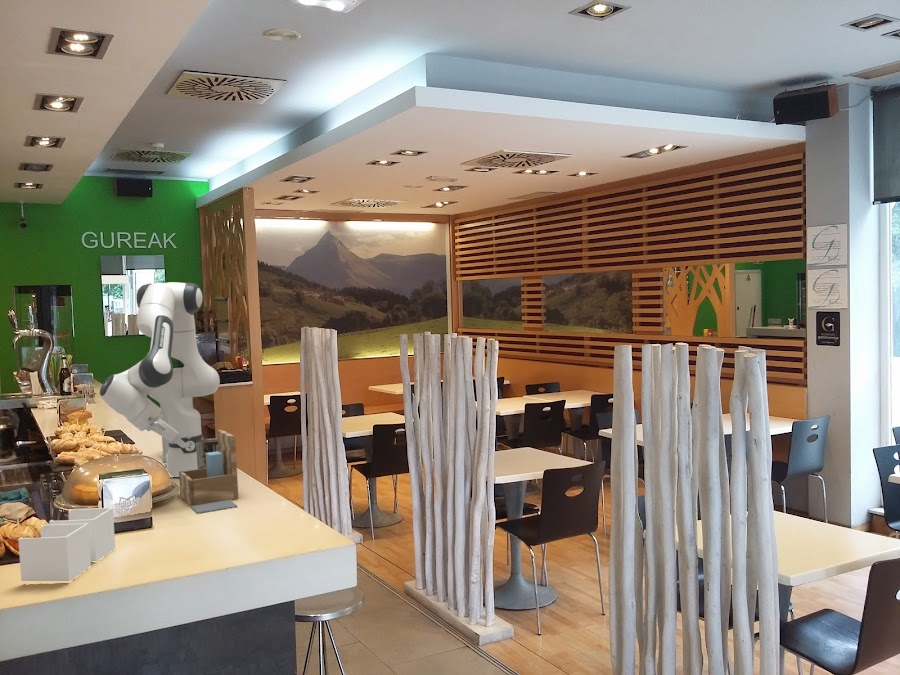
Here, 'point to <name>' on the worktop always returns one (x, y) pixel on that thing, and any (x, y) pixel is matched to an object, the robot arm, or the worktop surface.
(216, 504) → the mat
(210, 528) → the worktop surface
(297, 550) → the worktop surface
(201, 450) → the grey brown upright frame
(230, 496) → the caddy
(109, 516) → the white twin bins
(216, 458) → the block
